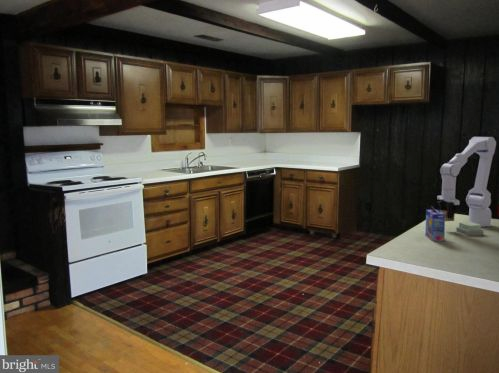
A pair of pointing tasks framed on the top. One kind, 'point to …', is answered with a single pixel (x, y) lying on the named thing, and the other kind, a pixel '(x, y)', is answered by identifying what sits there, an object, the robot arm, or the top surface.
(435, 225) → the ink cartridge box
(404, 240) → the top surface
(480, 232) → the base tile
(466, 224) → the top tile
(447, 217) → the walnut cube
